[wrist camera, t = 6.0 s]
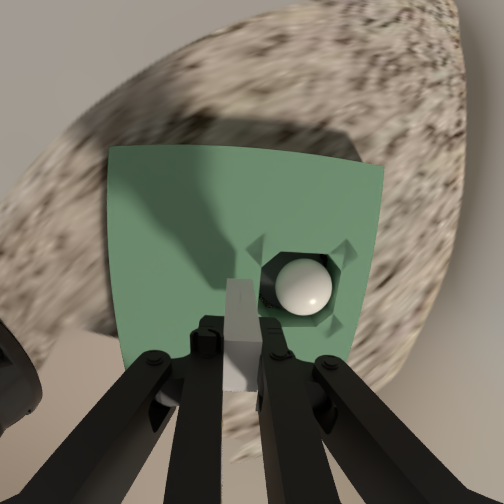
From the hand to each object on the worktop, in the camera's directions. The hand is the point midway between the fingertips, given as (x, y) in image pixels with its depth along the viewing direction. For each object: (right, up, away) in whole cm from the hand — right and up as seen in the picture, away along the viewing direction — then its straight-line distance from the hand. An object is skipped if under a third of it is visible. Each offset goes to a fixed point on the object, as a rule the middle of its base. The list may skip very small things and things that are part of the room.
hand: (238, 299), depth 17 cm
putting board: (0, +1, +4) cm, 5 cm away
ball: (+4, 0, +3) cm, 5 cm away
